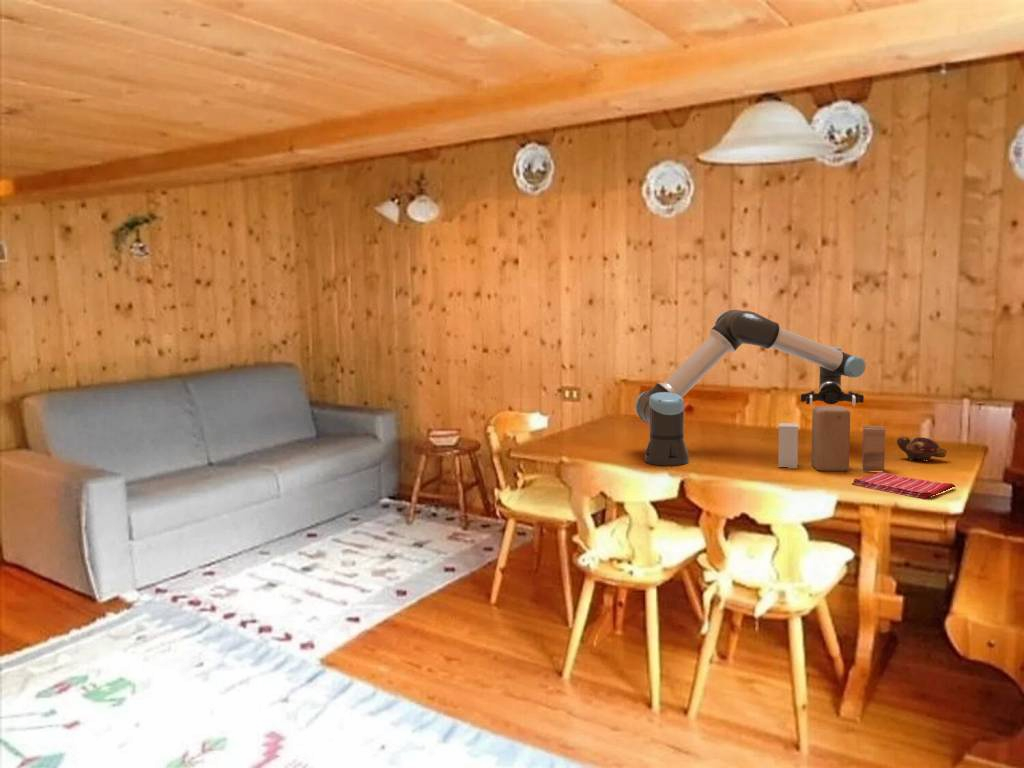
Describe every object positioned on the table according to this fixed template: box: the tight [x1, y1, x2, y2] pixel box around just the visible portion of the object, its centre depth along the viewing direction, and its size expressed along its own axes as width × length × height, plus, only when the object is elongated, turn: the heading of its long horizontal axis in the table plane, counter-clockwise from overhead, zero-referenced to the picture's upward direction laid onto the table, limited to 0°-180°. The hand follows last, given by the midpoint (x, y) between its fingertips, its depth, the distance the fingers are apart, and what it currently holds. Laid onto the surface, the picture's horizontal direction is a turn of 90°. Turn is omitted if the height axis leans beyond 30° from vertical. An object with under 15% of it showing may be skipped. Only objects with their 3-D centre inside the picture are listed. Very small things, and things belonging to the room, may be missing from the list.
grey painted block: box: [777, 422, 799, 469], centre depth 270 cm, size 6×6×14 cm
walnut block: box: [861, 425, 886, 472], centre depth 262 cm, size 6×6×14 cm
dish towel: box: [851, 472, 956, 500], centre depth 241 cm, size 17×24×3 cm
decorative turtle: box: [896, 436, 948, 461], centre depth 274 cm, size 10×15×8 cm, turn 68°
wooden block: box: [810, 405, 851, 472], centre depth 266 cm, size 10×10×20 cm
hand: (832, 401), depth 274 cm, fingers open, 13 cm apart
